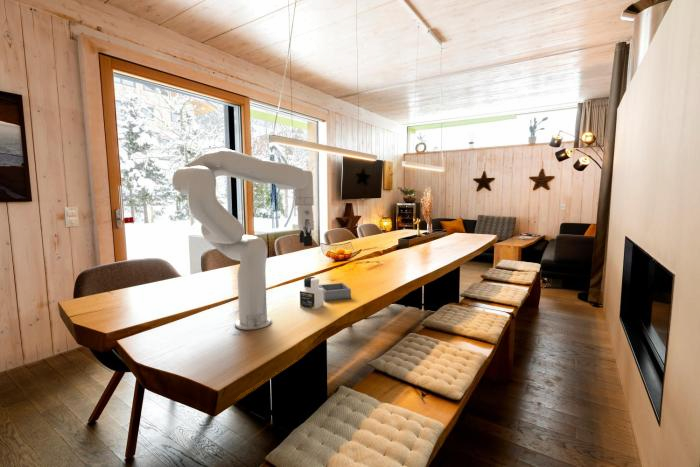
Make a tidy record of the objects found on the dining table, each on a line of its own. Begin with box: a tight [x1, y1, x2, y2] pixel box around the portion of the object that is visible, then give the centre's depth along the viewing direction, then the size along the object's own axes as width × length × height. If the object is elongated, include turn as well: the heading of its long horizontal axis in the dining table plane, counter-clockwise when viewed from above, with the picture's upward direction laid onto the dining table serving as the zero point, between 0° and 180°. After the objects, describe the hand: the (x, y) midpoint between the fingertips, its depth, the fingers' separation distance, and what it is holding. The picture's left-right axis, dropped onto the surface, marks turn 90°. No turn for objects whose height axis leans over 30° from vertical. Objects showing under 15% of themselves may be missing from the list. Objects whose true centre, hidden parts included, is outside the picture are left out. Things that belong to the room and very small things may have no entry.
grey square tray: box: [319, 282, 352, 303], centre depth 157 cm, size 12×12×4 cm
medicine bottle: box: [299, 276, 325, 311], centre depth 143 cm, size 7×7×12 cm
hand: (305, 244), depth 142 cm, fingers open, 9 cm apart
